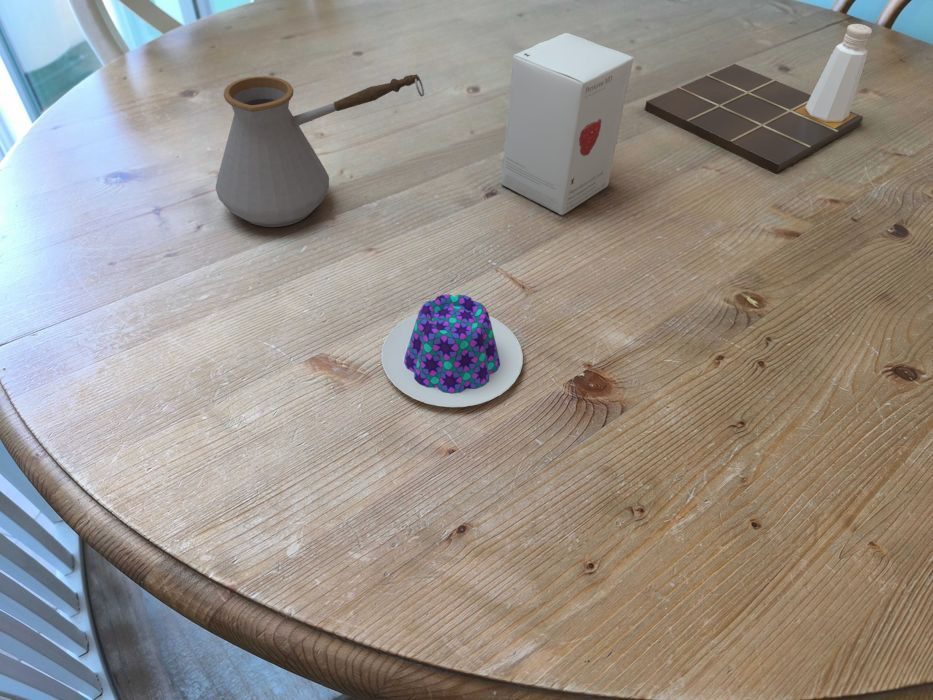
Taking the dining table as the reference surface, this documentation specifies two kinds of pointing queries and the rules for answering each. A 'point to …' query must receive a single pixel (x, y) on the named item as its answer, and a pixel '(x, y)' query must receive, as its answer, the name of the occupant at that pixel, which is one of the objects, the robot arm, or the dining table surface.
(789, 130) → the board
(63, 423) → the dining table surface
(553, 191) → the rectangular carton
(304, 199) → the coffee pot
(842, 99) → the pepper shaker
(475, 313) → the pudding
